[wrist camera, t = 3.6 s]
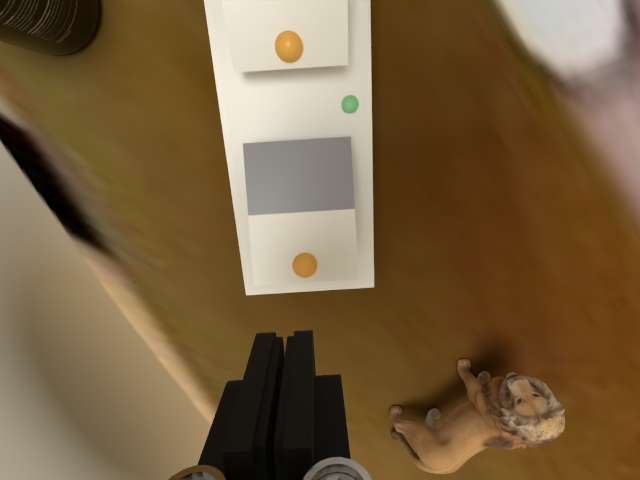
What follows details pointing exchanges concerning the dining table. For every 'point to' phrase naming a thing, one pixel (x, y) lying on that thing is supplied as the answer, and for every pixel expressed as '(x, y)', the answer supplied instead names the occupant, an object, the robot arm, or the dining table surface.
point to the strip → (299, 128)
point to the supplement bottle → (48, 24)
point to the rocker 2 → (301, 210)
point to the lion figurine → (482, 421)
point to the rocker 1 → (286, 33)
